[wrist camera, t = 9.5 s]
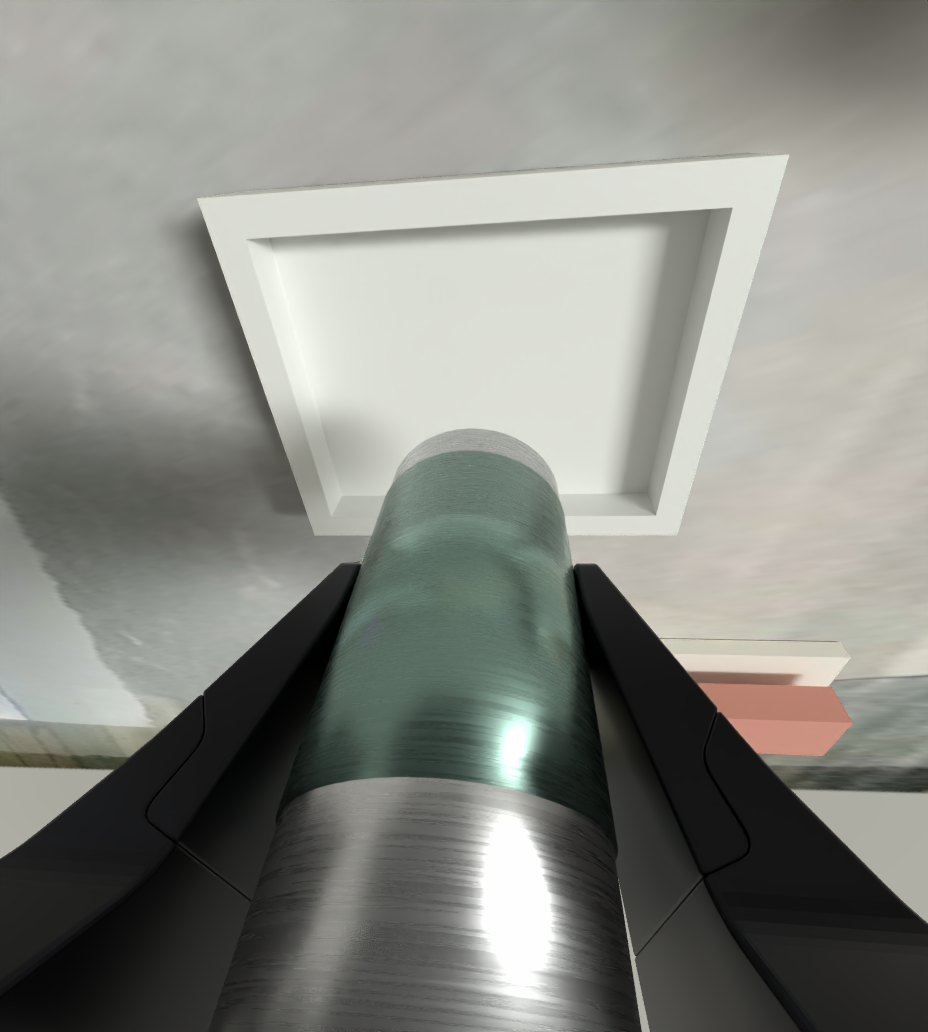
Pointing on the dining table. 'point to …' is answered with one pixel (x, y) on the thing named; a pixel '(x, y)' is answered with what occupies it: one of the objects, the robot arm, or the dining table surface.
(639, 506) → the white rectangular tray
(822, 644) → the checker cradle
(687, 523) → the dining table surface
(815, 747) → the bar
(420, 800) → the silver cell
